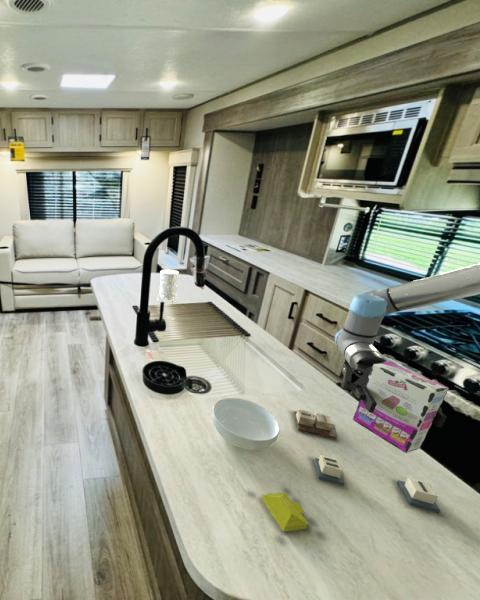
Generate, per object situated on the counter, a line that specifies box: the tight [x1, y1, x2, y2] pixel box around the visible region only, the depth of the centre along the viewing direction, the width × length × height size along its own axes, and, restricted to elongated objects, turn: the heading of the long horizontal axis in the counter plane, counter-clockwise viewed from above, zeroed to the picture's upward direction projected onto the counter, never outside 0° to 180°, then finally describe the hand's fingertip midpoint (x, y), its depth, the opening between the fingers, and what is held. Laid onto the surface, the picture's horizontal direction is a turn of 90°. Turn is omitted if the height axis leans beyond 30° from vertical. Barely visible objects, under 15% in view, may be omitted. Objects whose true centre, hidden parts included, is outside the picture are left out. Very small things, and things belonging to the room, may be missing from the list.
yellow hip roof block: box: [256, 491, 322, 541], centre depth 69 cm, size 10×9×3 cm
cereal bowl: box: [211, 397, 281, 451], centre depth 89 cm, size 17×17×7 cm
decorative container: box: [157, 268, 180, 304], centre depth 189 cm, size 12×12×18 cm
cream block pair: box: [292, 408, 337, 441], centre depth 92 cm, size 9×8×4 cm
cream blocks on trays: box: [312, 454, 441, 514], centre depth 75 cm, size 22×6×4 cm, turn 66°
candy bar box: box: [352, 360, 450, 454], centre depth 71 cm, size 11×5×16 cm, turn 17°
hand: (406, 414), depth 67 cm, fingers closed on candy bar box, 10 cm apart
